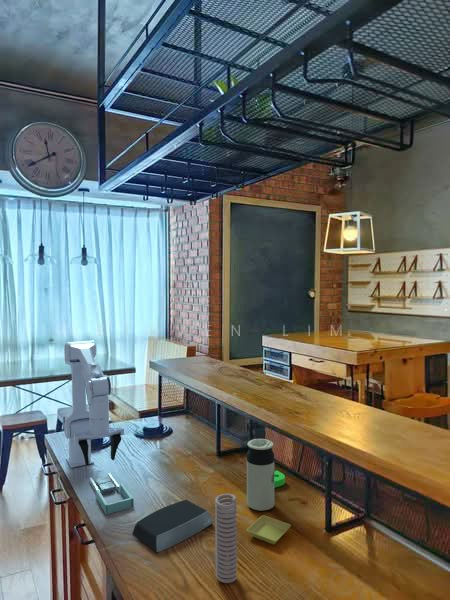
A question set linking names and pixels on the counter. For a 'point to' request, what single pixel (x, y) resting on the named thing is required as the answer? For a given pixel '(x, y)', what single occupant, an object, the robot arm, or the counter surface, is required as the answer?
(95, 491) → the slot guide
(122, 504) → the tray
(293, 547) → the counter surface
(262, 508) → the travel mug
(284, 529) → the saucer
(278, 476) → the mechanical part
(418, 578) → the counter surface
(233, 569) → the coil
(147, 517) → the external hard drive
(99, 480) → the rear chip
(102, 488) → the block
